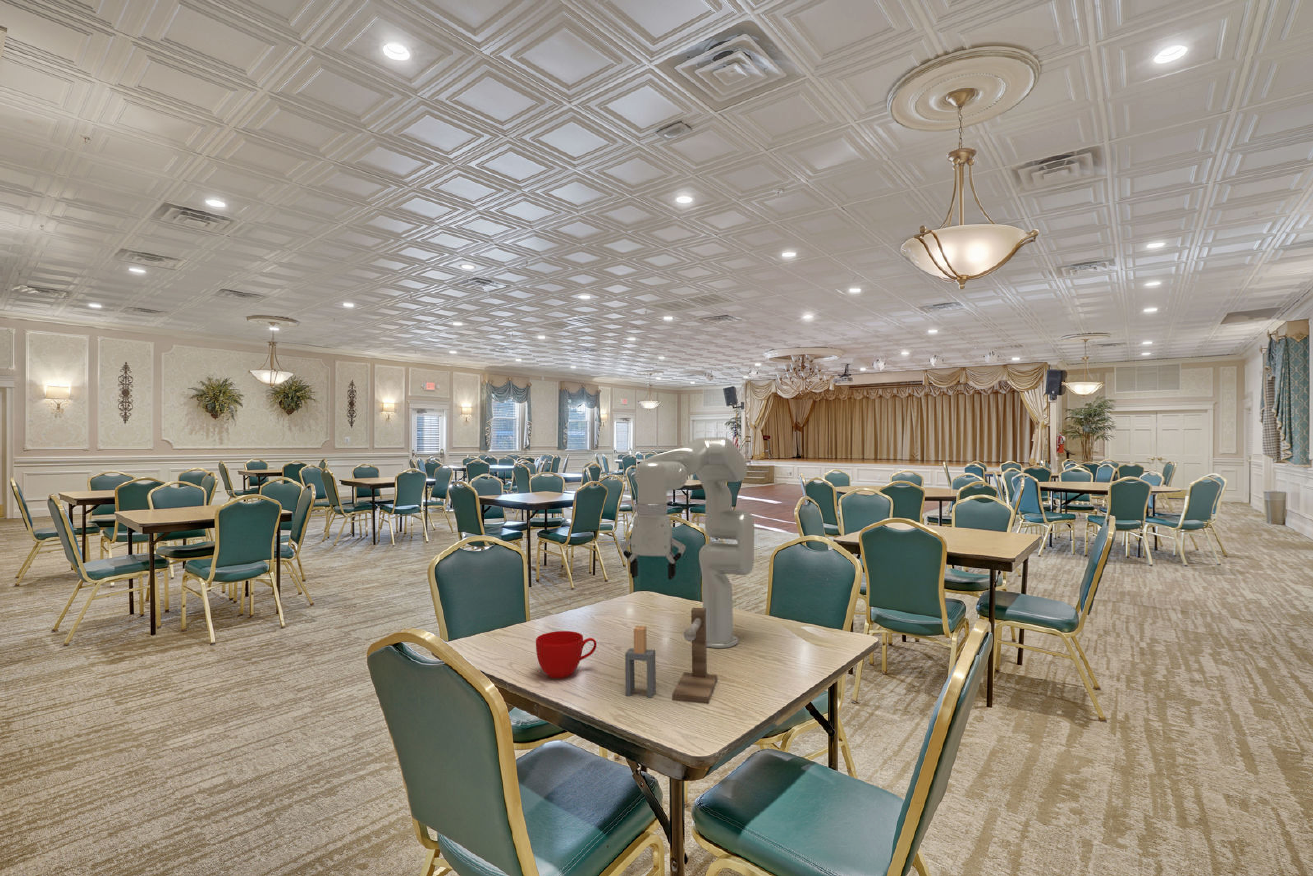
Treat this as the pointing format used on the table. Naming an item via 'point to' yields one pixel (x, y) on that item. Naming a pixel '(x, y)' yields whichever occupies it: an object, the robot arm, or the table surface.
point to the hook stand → (696, 664)
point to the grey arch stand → (642, 655)
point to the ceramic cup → (561, 652)
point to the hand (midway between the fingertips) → (652, 577)
